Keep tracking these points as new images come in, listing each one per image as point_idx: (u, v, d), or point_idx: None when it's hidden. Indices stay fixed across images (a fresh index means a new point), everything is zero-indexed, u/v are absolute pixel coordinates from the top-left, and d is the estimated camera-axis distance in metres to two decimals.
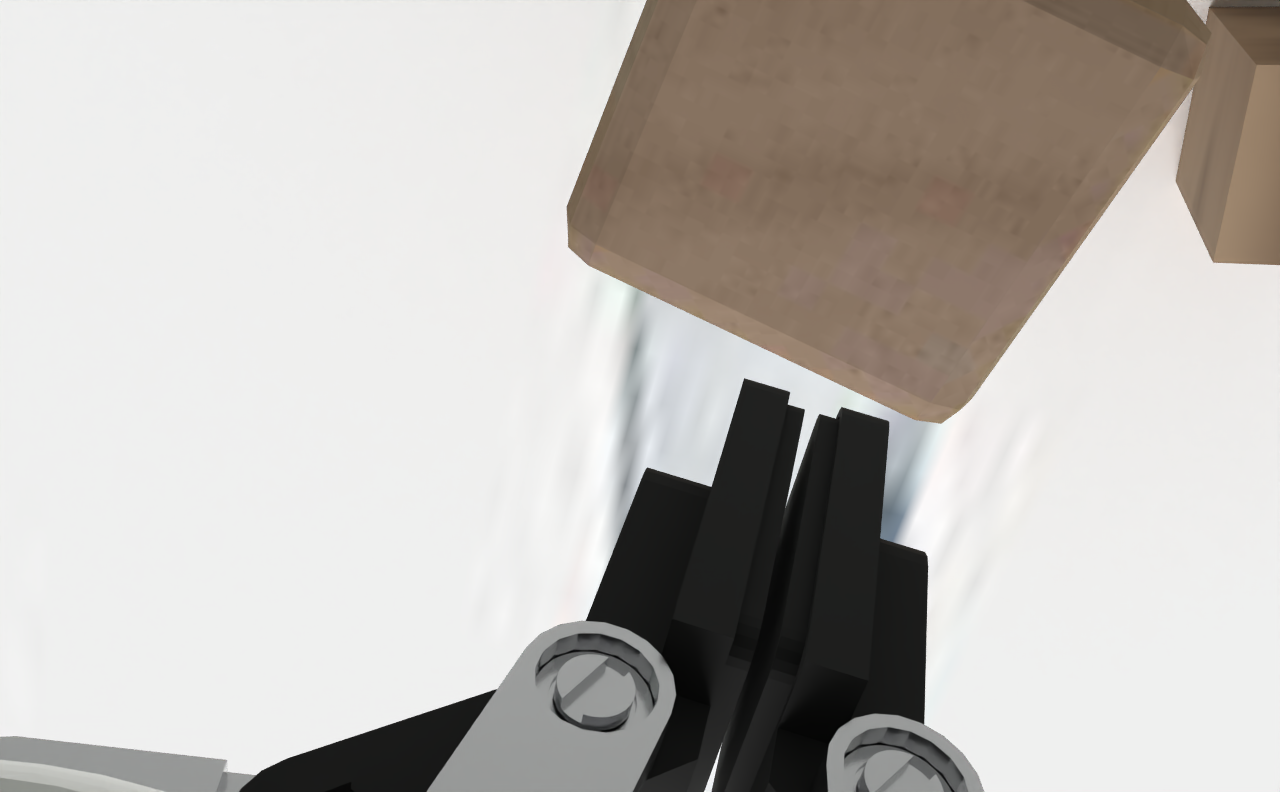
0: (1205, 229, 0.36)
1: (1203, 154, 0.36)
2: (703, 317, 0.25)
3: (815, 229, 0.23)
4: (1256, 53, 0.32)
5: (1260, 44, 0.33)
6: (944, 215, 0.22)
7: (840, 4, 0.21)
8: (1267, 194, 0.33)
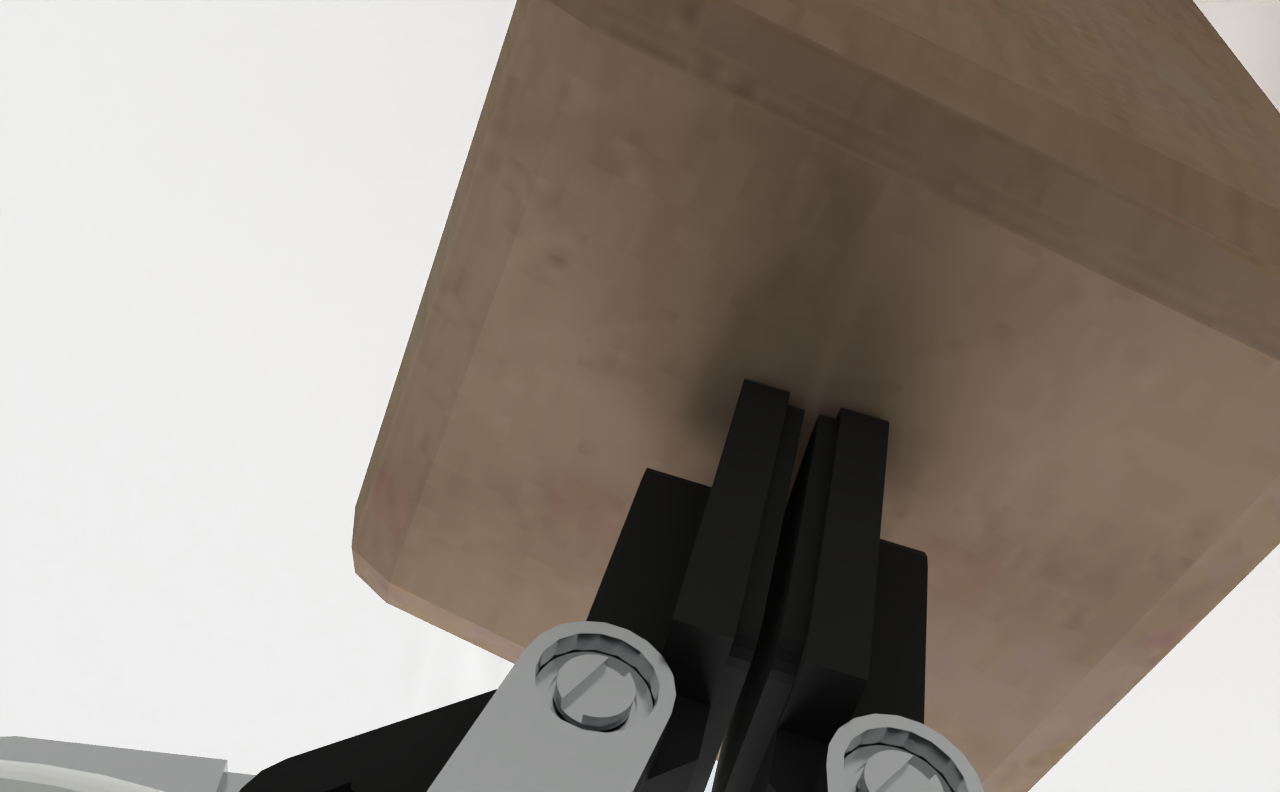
0: None
1: None
2: None
3: None
4: None
5: None
6: (949, 591, 0.13)
7: (763, 260, 0.11)
8: None
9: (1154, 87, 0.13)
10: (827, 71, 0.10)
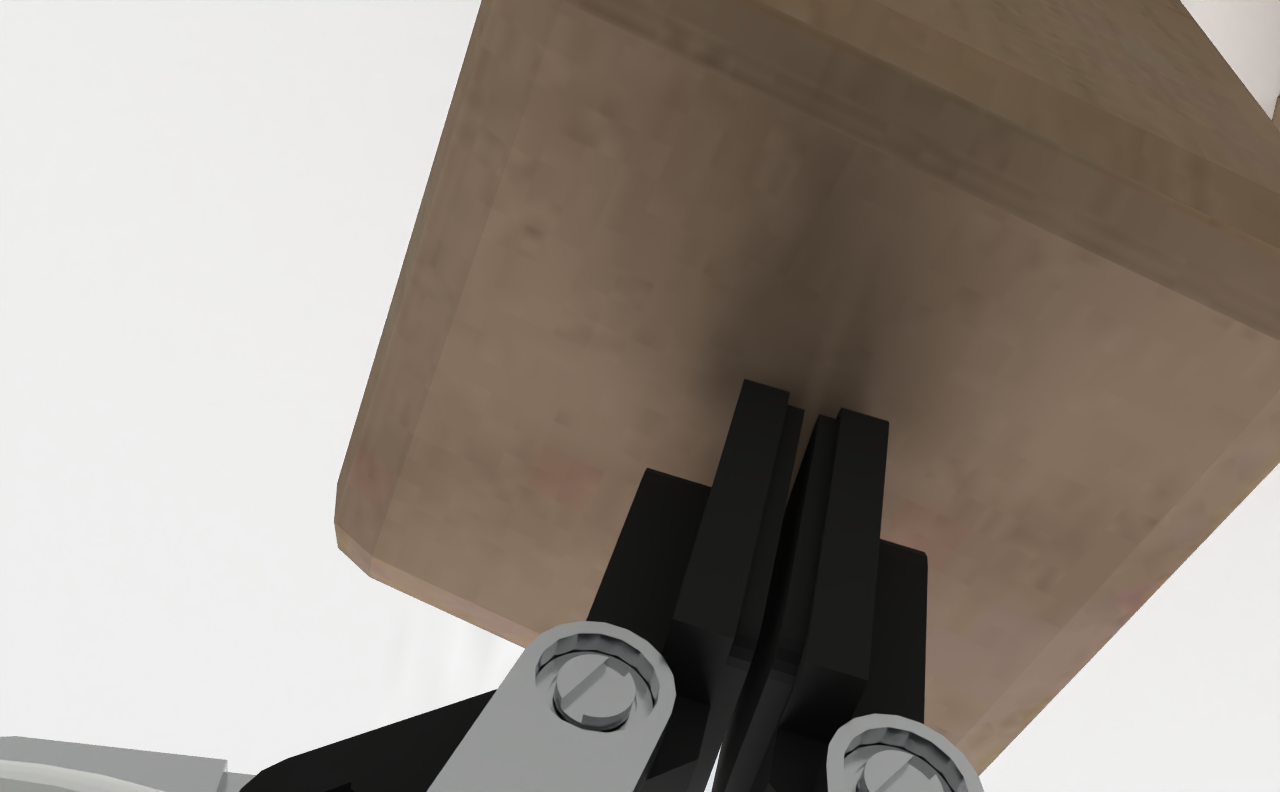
0: None
1: None
2: None
3: None
4: None
5: None
6: None
7: (736, 229, 0.12)
8: None
9: (1118, 58, 0.13)
10: (795, 40, 0.11)
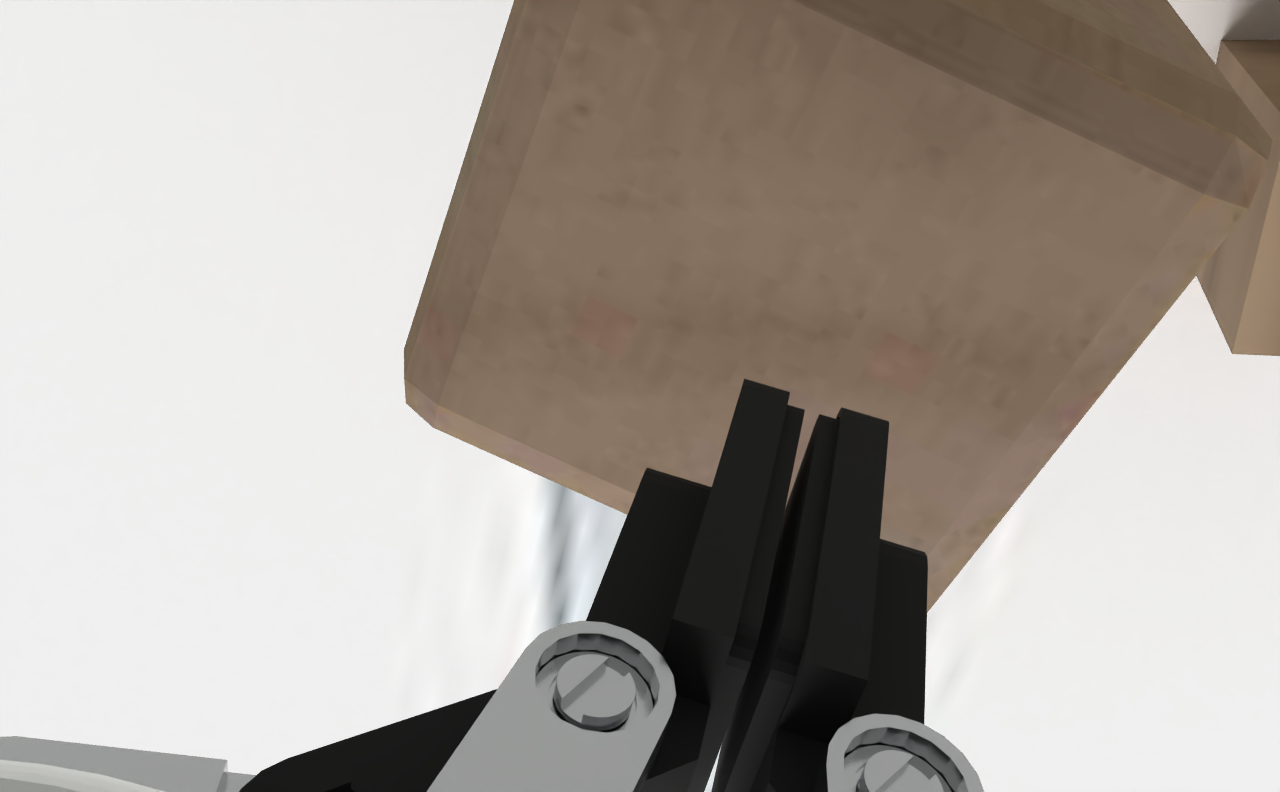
0: (1221, 310, 0.30)
1: None
2: (587, 494, 0.19)
3: (727, 393, 0.17)
4: None
5: None
6: (900, 381, 0.16)
7: (747, 102, 0.14)
8: None
9: None
10: None
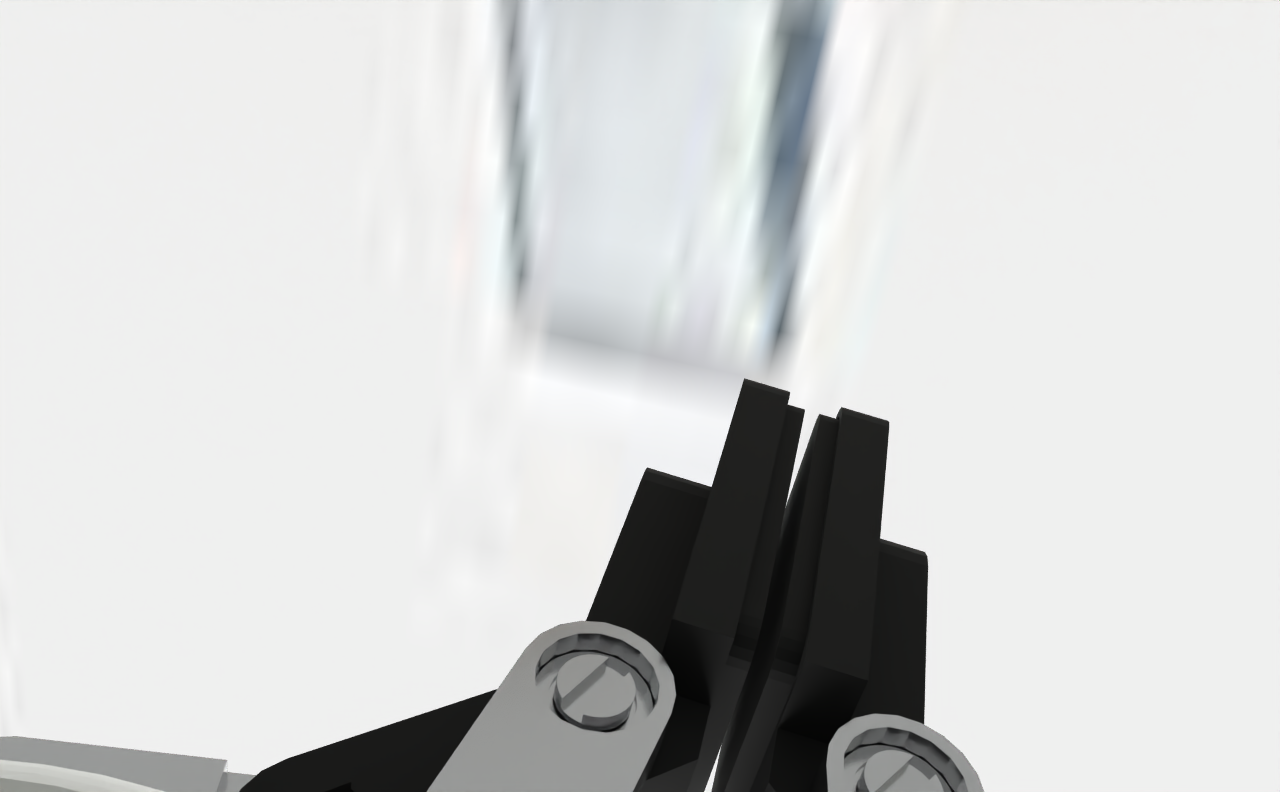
0: None
1: None
2: None
3: None
4: None
5: None
6: None
7: None
8: None
9: None
10: None
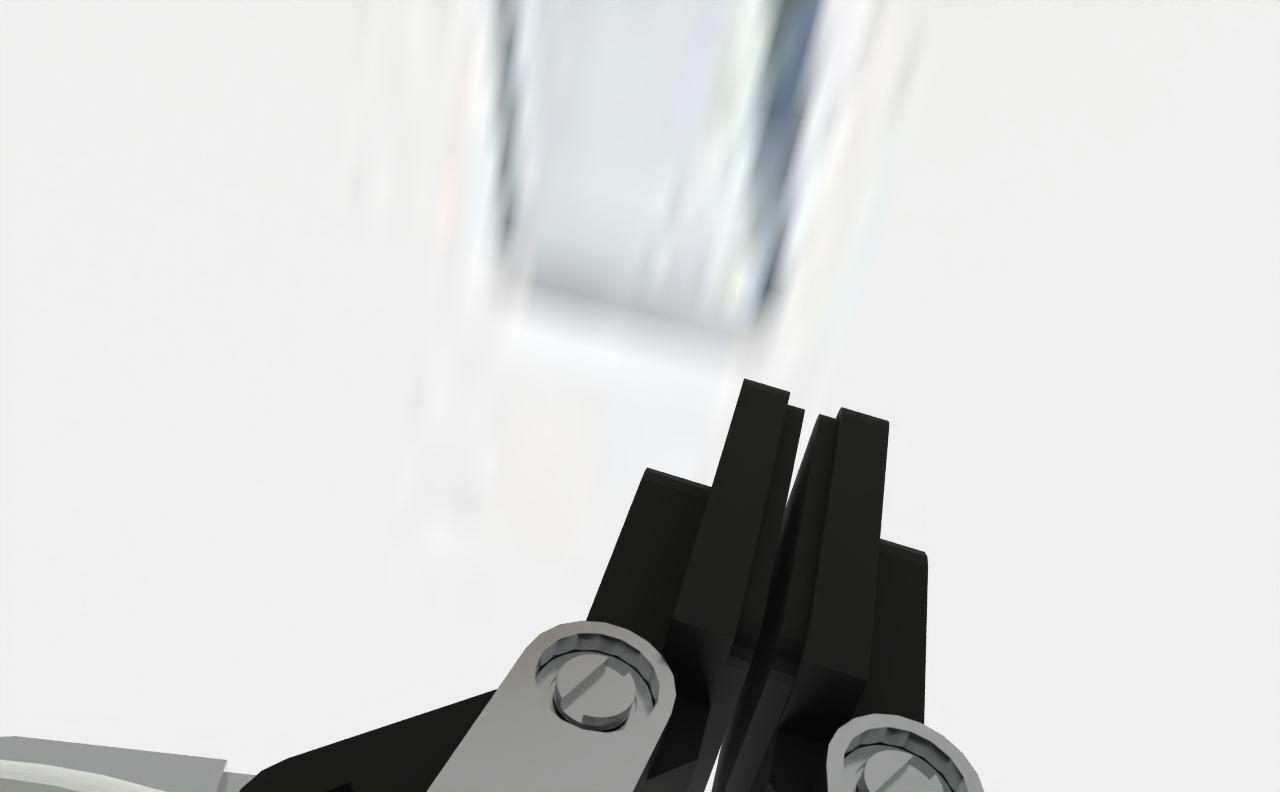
0: None
1: None
2: None
3: None
4: None
5: None
6: None
7: None
8: None
9: None
10: None
